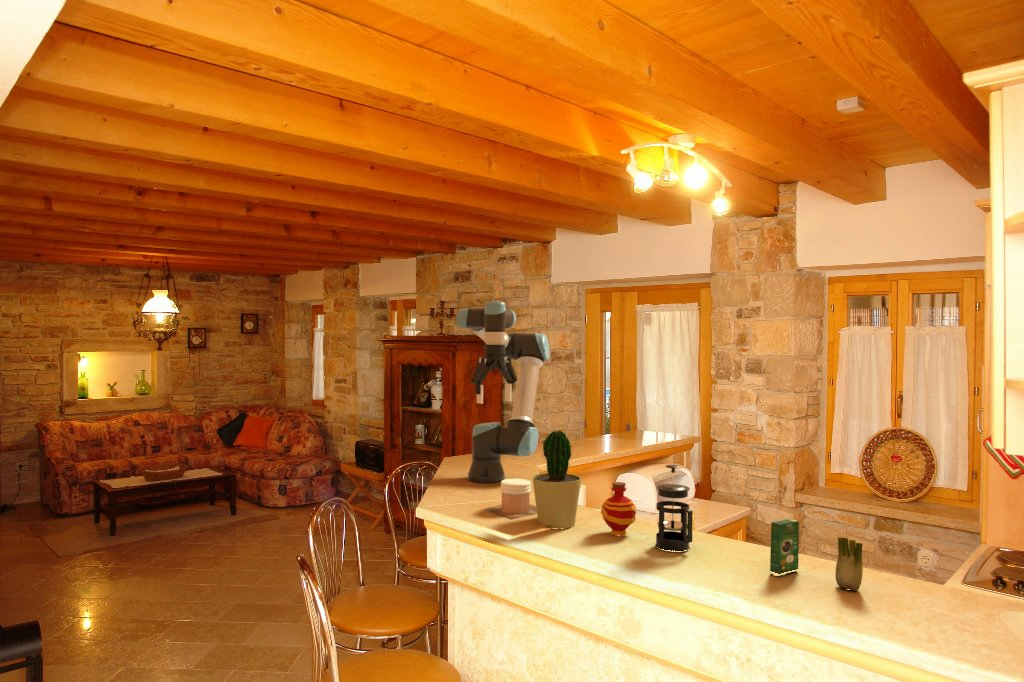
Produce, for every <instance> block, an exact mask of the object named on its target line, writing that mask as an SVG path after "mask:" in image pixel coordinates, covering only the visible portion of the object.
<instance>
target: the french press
mask: <svg viewBox="0 0 1024 682" xmlns="http://www.w3.org/2000/svg"><path fill="white" fill-rule="evenodd" d="M665 468H667V469H671V471H670V472H671V475H672V483H664V484H663V483H662V484H661V483H660V484H658V485H656V489H657V494H658V496H660V497H661V498H662V497H663V498H667V499H672V500H662V501H658V502H657V503H656V505H655V506H656V510H657V511H658V522H657V527H658V532H657V533H656V535H655V537H656V538H655V546H656V547H658V548H660V549H664V550H671V551H672V550H673V551H674V550H675V551H684V550H688V549H691V547H690V543H693V519H694V518H693V509H690V504H688V503H686V502H682V501H676V500H674V499H684V498H688V495H689V491H690V487H689V486H687V485H683V484H674V481H675V480H674V479H675V478H674V477H675V472H676V471H675V470H677V469H681V468H682V467H681V466H680V465H677V464H666V465H665ZM665 506H666V507H665ZM668 506H671V508H670V507H668ZM674 507H680V508H674ZM665 513H666V514H671V520H665ZM674 514H679V515H680V521H677V520H674ZM665 530H666V531H665ZM656 547H655V548H656Z"/></svg>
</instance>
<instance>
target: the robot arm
mask: <svg viewBox="0 0 1024 682" xmlns="http://www.w3.org/2000/svg"><path fill="white" fill-rule="evenodd" d="M455 318H456V319H455V320H456V324H457V326H458V327H459V328H461V329H470V331H472V332H473V333H474V334H476V336H478V337H479V338H480V339H481V340H482V341H483V342H484V343H485V344H484V349H483V350H484V355H485V357H478V358H477V364H476V367H475V370H474V372H473V374H472V377H471V379H470V384H473V385H474V386H475V391H474V392H475V395H476V404H479V405H481V404H482V405H483V404H484V385H483V382H484V381H485V379H486V378H487V376H488V375H489V373H490V371H492V370H493V371H494V370H495V371H496V370H498V371H499V372H500V374H501V375H502V377H503V378H504V380H505V381H506V382H505V384H504V385H505V387H504V388H505V390H504V391H505V392H504V394H505V395H504V401H505V402H512V399H513V397H512V396H513V395H512V393H513V392H514V384H515V383H516V386H515V387H516V388H515V392H514V401H513V405H512V413H511V417H510V418H509V419H507V421H506V425H502V423H501V421H494V422H493V421H492V422H483V423H482V422H481V423H478V424H475V425H474V426H473V427H472V434H471V440H472V441H471V443H472V444H471V445H472V446H471V448H472V449H471V457H472V459H471V464H470V466H469V467H470V468H469V470H468V473H467V481H469V480H470V482H472V481H474V482H473V483H479V482H480V483H482V484H486V483H487V484H489V483H490V482H494V483H499V481H500V482H501V481H502V480H505V477H506V475H505V471H504V468H503V464H502V461H501V459H502V457H501V456H515V457H530V456H532V455H533V454H534V453H535V451H536V449H537V447H538V443H539V429H538V428H537V427H536V424H535V422H534V421H533V416H534V409H535V404H536V403H535V402H536V397H537V396H536V394H537V388H538V387H537V386H538V380H539V374H540V369H541V368H542V367H543V366H544V363H545V362H546V361H549V359H550V343H549V340H548V337H547V336H546V334H544V333H540V332H539V333H538V332H534V333H533V332H524V333H523V332H522V333H521V332H506V329H510V328H513V326H514V325H515V324H516V321H517V315H516V313H515V312H514V311H513V310H512V309H510V308H507V307H506V303H505V302H504V301H493V300H492V301H486V302H485V304H484V308H479V307H478V308H474V307H473V308H471V307H469V308H468V307H465V308H459V309H458V311H457V312H456V317H455ZM513 360H514V361H515V360H516V364H517V365H518V374H517V375H516V371H515V370H514V366H513V364H512V361H513Z"/></svg>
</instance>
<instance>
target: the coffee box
mask: <svg viewBox="0 0 1024 682" xmlns="http://www.w3.org/2000/svg"><path fill="white" fill-rule="evenodd" d="M799 540H800V521H799V520H797V519H793V518H787V519H782V520H777V521H776V520H775V521H771V522H770V561H769V562H770V563H769V564H770V565H769V572H770V571H772V572H775V573H778V574H781V573H784V572H788V571H792V570H796V569H798V570H799V552H800V551H799V542H800V541H799Z"/></svg>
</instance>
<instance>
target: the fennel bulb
mask: <svg viewBox="0 0 1024 682" xmlns="http://www.w3.org/2000/svg"><path fill="white" fill-rule="evenodd" d="M837 545H838V546H837V549H838V550H837V551H838V554H837V561H836V565H835V576H834V577H835V581H836V584H837V585H838V587H840V588H841V587H842V588H841V589H843V588H845V589H850V590H858V591H859V589H860V587H861V585H862V579H863V572H864V571H863V570H864V569H863V543H862V542H860V541H857V540H856V539H852V538H851V539H849V538H848V537H844V536H838V537H837ZM845 589H844V590H845Z"/></svg>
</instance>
